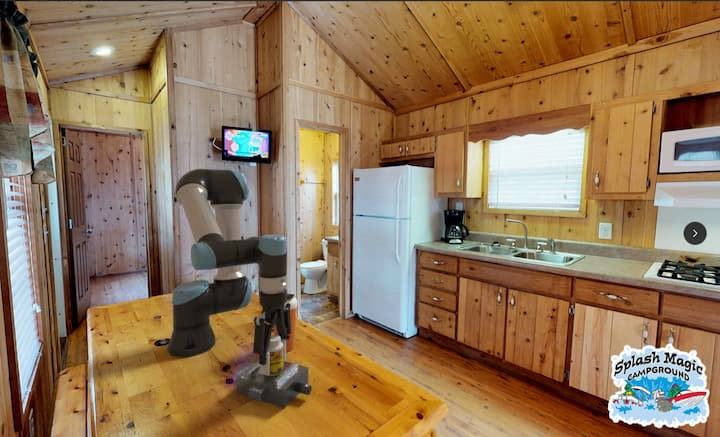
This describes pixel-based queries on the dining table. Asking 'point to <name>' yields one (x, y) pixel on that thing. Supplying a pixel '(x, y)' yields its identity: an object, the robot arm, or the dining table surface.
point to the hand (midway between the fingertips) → (273, 366)
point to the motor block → (274, 384)
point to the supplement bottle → (275, 355)
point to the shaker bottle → (293, 309)
